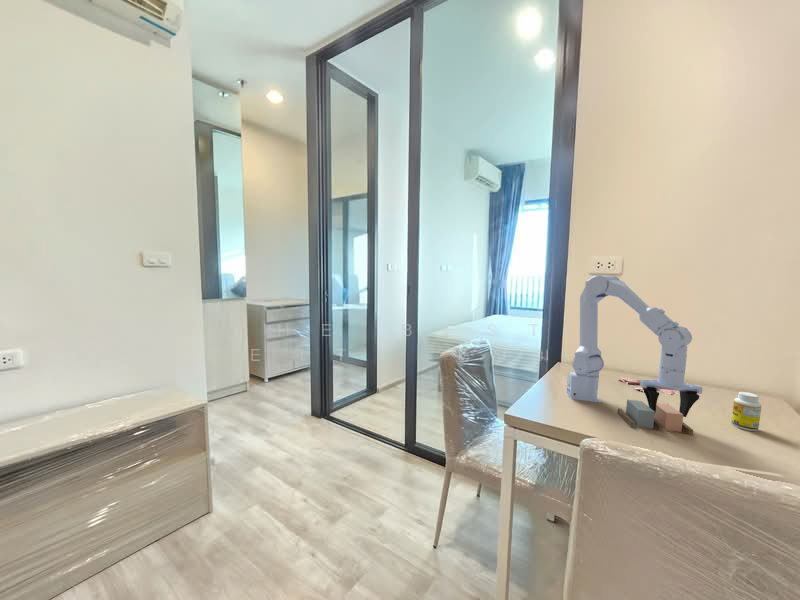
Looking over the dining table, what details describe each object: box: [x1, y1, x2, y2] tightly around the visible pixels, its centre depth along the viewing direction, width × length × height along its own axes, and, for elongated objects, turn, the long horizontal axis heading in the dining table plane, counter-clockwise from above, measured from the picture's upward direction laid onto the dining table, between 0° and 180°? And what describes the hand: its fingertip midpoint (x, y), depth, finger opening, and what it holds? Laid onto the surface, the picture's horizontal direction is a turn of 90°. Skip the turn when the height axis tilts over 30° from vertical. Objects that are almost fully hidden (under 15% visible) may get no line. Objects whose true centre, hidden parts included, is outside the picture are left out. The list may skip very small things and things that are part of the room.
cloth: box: [618, 377, 680, 396], centre depth 131 cm, size 20×22×2 cm
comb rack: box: [616, 408, 694, 436], centre depth 97 cm, size 15×10×2 cm, turn 75°
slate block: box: [625, 399, 655, 429], centre depth 97 cm, size 4×8×5 cm, turn 165°
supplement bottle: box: [731, 391, 762, 432], centre depth 96 cm, size 6×6×10 cm
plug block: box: [654, 402, 684, 432], centre depth 96 cm, size 4×8×5 cm, turn 165°
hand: (667, 413), depth 96 cm, fingers open, 7 cm apart
